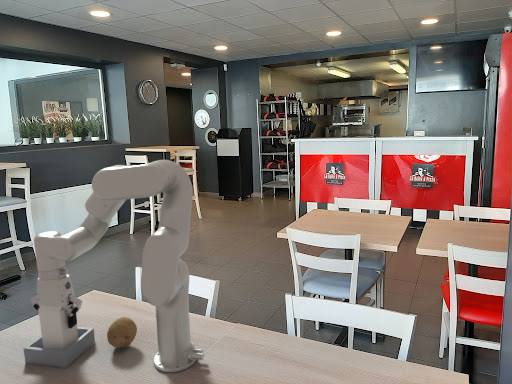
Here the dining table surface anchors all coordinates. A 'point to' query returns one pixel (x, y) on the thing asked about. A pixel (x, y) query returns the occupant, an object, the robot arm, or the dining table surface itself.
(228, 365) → the dining table surface
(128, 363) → the dining table surface
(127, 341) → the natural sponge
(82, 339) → the box
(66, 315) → the milk carton
